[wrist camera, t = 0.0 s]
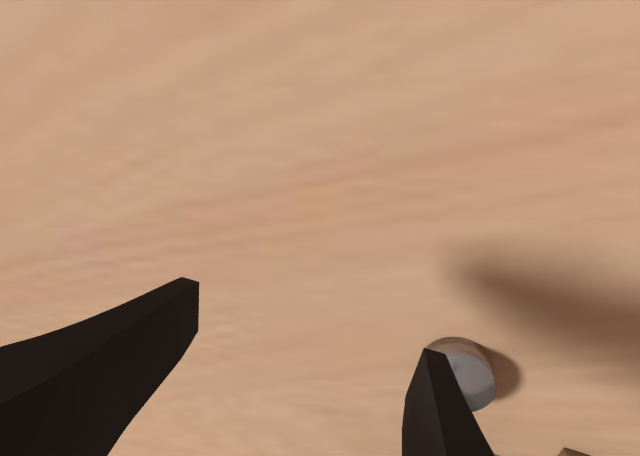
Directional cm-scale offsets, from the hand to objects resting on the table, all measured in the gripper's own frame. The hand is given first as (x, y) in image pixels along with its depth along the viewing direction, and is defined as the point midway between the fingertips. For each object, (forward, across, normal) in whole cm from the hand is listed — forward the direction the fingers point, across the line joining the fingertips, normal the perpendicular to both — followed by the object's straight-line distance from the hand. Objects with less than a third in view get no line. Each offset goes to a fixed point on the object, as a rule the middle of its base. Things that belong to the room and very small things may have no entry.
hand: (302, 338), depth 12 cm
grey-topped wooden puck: (+10, -8, +8) cm, 15 cm away
